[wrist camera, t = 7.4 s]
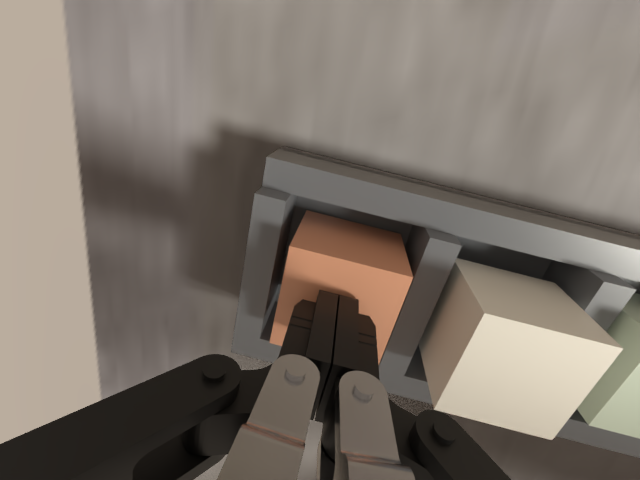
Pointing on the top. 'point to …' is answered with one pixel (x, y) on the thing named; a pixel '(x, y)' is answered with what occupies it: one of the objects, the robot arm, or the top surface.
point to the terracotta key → (345, 271)
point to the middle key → (511, 350)
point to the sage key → (619, 379)
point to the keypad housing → (430, 258)
